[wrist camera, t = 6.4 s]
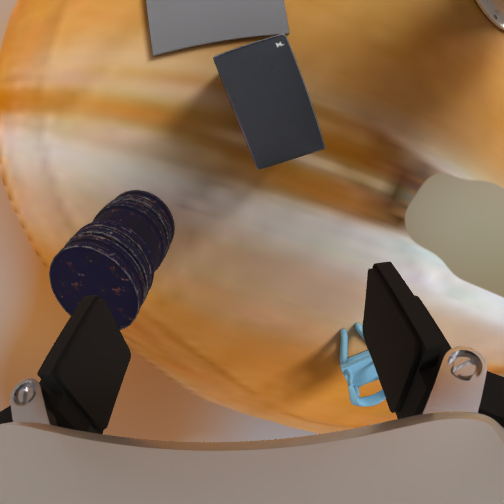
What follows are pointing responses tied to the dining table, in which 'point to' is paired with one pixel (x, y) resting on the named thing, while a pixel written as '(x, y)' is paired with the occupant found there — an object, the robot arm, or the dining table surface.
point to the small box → (270, 101)
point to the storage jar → (115, 256)
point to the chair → (358, 371)
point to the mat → (212, 22)
